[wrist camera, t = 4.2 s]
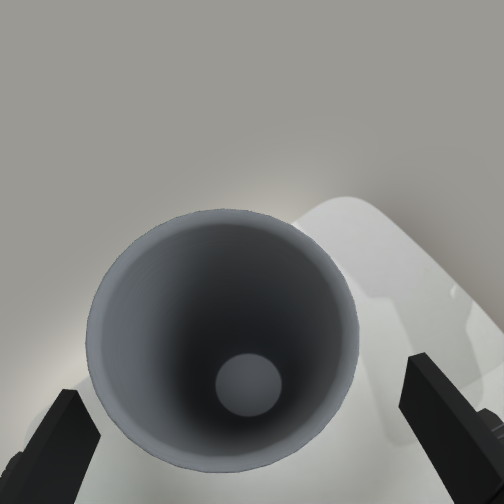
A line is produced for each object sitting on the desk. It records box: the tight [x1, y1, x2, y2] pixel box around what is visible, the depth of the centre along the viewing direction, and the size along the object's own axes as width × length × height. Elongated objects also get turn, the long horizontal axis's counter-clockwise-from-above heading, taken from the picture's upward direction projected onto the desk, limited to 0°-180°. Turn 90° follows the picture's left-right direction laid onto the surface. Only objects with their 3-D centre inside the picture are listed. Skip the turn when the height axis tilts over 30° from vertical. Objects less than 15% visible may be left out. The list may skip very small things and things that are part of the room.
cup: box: [85, 209, 359, 473], centre depth 14 cm, size 7×7×15 cm
